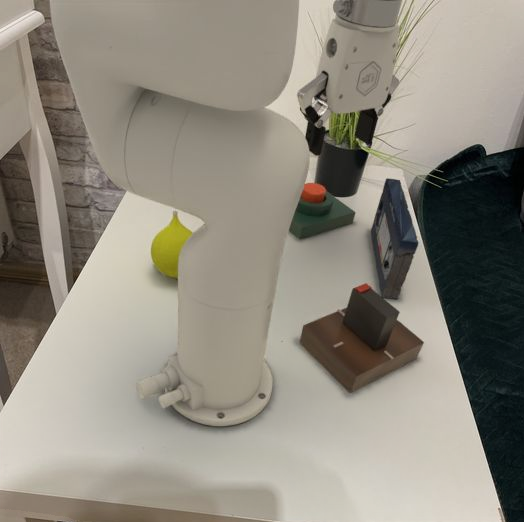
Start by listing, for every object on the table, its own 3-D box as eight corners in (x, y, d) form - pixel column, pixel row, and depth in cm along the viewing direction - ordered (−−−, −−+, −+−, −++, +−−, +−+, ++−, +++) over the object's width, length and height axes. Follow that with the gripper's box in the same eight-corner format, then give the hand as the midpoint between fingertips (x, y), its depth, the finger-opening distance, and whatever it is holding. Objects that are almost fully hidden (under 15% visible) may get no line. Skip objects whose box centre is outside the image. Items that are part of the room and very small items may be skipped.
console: (350, 393, 63) (357, 376, 61) (298, 341, 68) (302, 323, 66) (417, 359, 68) (425, 341, 66) (364, 313, 74) (370, 296, 72)
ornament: (178, 252, 79) (178, 191, 72) (211, 274, 76) (215, 213, 69) (141, 271, 75) (137, 208, 68) (175, 294, 72) (175, 232, 65)
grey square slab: (386, 345, 65) (400, 310, 61) (374, 351, 64) (387, 316, 60) (354, 316, 68) (366, 281, 64) (342, 321, 67) (353, 286, 63)
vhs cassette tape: (369, 231, 90) (386, 177, 83) (386, 233, 90) (404, 179, 83) (377, 298, 77) (398, 240, 70) (397, 300, 77) (420, 243, 70)
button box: (299, 239, 85) (303, 218, 83) (264, 210, 91) (266, 189, 88) (352, 223, 91) (358, 202, 88) (316, 196, 96) (320, 176, 94)
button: (310, 206, 86) (312, 196, 85) (295, 194, 88) (297, 185, 87) (328, 201, 88) (331, 191, 87) (313, 190, 90) (315, 180, 89)
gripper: (333, 23, 58) (307, 168, 70) (438, 15, 66) (397, 147, 78) (293, 3, 62) (274, 144, 74) (396, -2, 70) (364, 126, 82)
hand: (338, 145), depth 76 cm, fingers open, 9 cm apart
